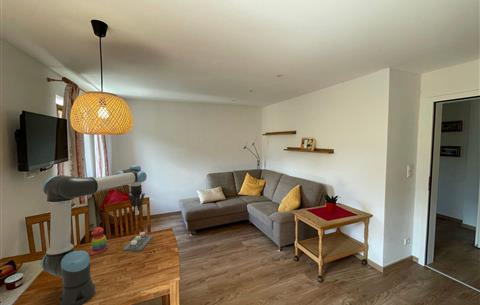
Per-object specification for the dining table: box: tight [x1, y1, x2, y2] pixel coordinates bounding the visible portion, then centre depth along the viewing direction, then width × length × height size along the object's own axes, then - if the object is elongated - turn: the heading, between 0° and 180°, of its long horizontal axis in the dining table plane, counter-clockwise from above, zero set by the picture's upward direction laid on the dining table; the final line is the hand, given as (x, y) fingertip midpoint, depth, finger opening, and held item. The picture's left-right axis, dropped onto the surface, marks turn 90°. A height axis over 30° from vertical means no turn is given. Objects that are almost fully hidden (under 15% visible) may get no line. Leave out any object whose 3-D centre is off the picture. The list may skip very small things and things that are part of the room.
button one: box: [130, 239, 137, 246], centre depth 158 cm, size 4×4×3 cm
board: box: [122, 234, 154, 252], centre depth 165 cm, size 20×14×3 cm
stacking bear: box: [89, 226, 108, 256], centre depth 155 cm, size 11×10×18 cm
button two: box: [135, 235, 141, 242], centre depth 164 cm, size 4×4×3 cm
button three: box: [139, 231, 146, 238], centre depth 171 cm, size 4×4×3 cm
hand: (137, 214), depth 163 cm, fingers closed
